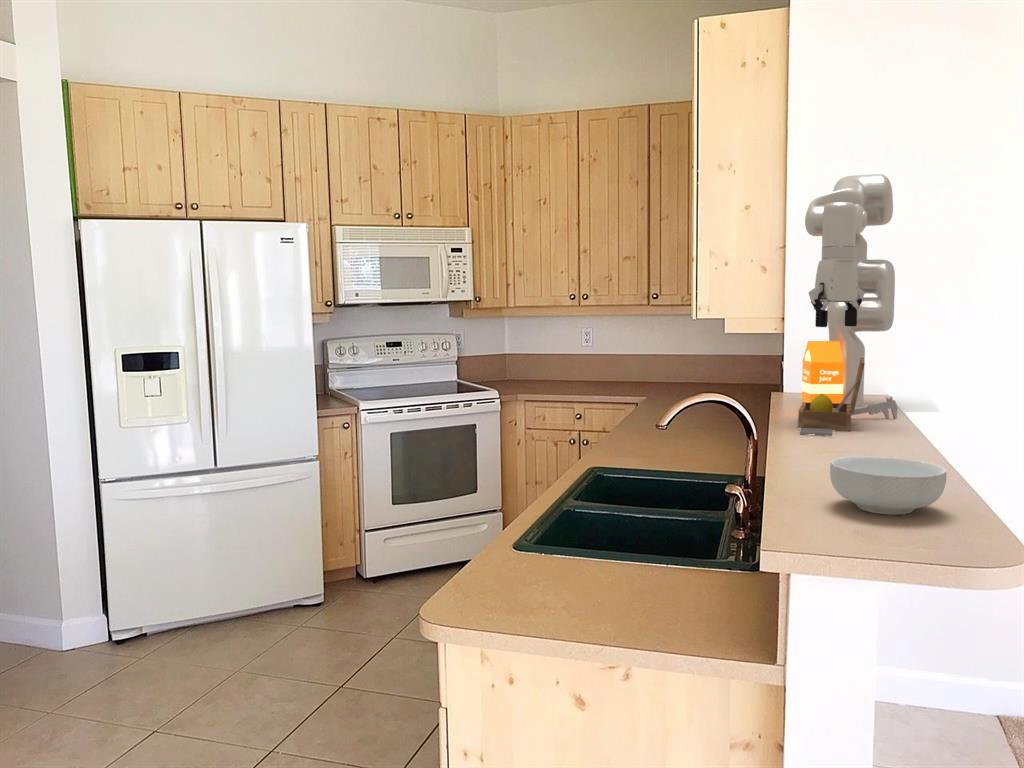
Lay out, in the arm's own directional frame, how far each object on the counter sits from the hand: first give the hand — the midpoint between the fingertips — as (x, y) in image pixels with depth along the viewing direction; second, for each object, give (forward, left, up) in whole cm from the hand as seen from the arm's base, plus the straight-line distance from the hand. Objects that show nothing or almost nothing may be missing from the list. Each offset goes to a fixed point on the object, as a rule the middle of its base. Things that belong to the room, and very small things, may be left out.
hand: (836, 326), depth 213 cm
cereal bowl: (+80, +9, -25) cm, 84 cm away
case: (-7, -1, -25) cm, 26 cm away
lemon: (-7, -3, -25) cm, 27 cm away
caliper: (-20, +5, -26) cm, 33 cm away
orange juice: (-28, -4, -25) cm, 38 cm away
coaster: (+7, -4, -25) cm, 26 cm away
